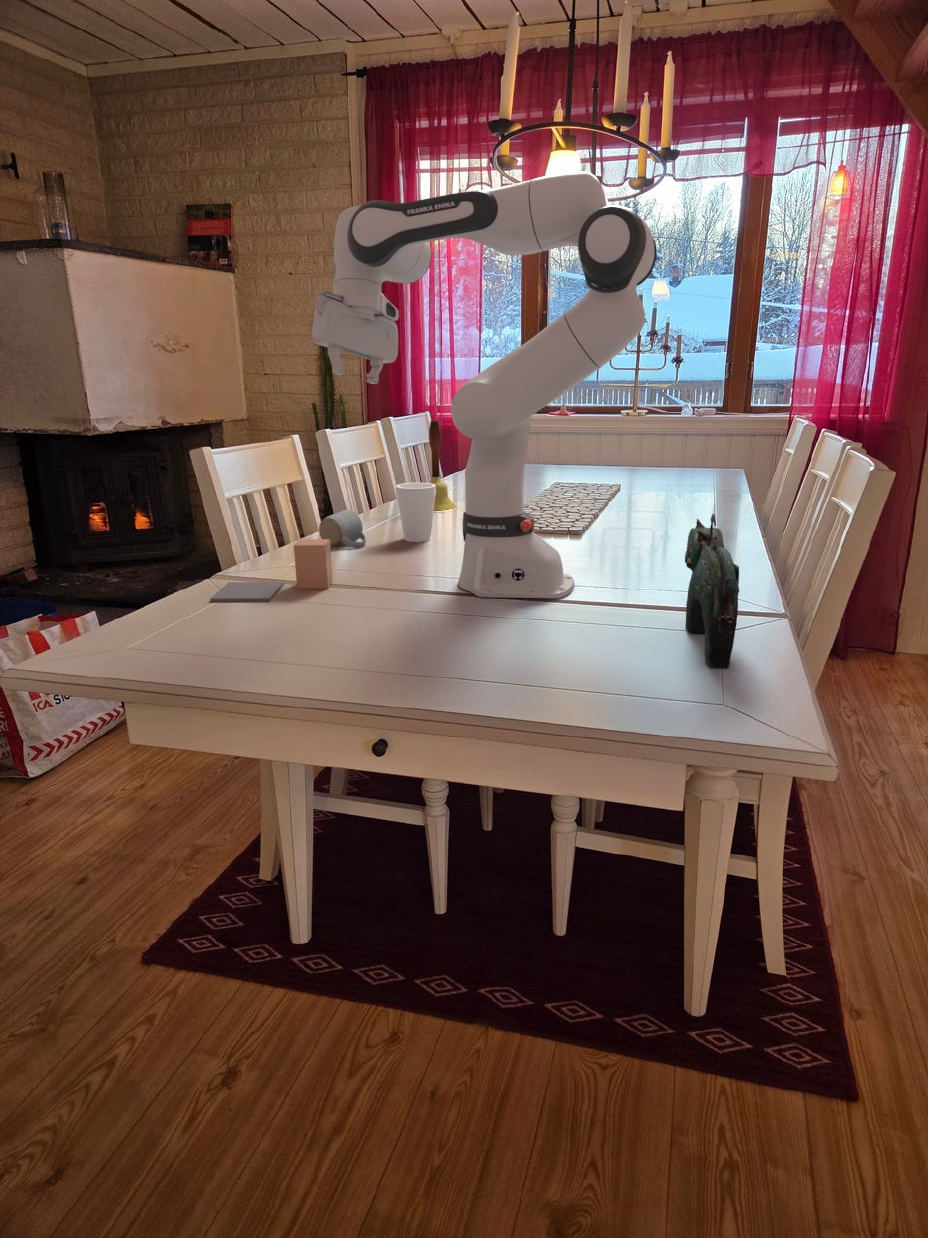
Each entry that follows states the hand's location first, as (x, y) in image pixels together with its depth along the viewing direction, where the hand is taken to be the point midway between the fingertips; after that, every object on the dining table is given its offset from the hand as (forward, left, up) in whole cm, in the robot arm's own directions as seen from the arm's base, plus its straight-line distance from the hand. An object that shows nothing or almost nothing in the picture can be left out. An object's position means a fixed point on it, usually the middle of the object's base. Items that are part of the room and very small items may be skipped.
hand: (356, 378), depth 149 cm
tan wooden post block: (+8, +8, -39) cm, 40 cm away
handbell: (+10, -74, -39) cm, 84 cm away
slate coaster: (+18, +16, -38) cm, 45 cm away
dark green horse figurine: (-67, +24, -39) cm, 81 cm away
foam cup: (+2, -35, -39) cm, 52 cm away
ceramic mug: (+16, -26, -39) cm, 50 cm away
